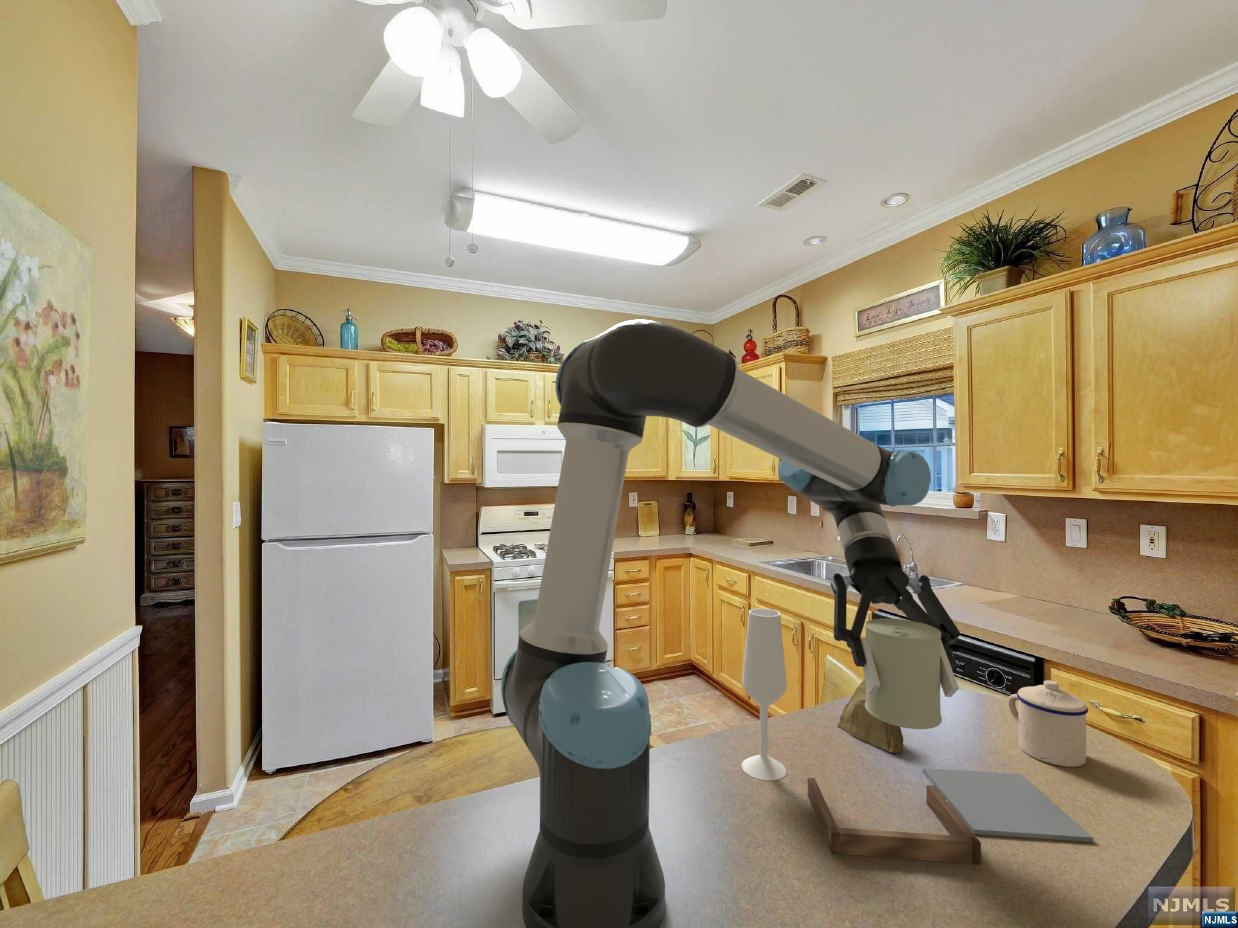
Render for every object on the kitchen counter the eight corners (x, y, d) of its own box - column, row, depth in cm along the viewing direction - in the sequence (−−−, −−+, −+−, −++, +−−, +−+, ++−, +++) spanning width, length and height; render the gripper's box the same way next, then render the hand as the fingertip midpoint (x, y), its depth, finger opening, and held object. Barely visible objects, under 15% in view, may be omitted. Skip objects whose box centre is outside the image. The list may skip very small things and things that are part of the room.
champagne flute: (774, 786, 79) (775, 621, 79) (733, 768, 83) (734, 612, 83) (793, 766, 84) (794, 611, 84) (753, 751, 88) (754, 604, 89)
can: (858, 716, 72) (858, 626, 72) (871, 692, 80) (871, 611, 80) (938, 736, 67) (938, 639, 67) (944, 708, 75) (944, 621, 75)
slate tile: (973, 833, 69) (973, 829, 69) (923, 771, 83) (923, 767, 83) (1093, 842, 68) (1093, 837, 68) (1021, 777, 81) (1021, 773, 81)
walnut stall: (831, 852, 65) (831, 832, 65) (807, 795, 77) (807, 777, 77) (980, 864, 64) (981, 842, 64) (934, 803, 75) (934, 785, 75)
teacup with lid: (1103, 765, 85) (1103, 690, 85) (1056, 772, 83) (1056, 695, 83) (1030, 728, 97) (1030, 663, 97) (987, 734, 95) (988, 667, 95)
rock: (925, 743, 87) (900, 707, 97) (893, 702, 87) (871, 670, 96) (866, 777, 89) (848, 738, 99) (835, 736, 88) (820, 702, 98)
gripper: (932, 563, 88) (989, 705, 72) (794, 560, 90) (821, 699, 74) (948, 534, 82) (1015, 682, 67) (802, 533, 84) (832, 675, 69)
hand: (913, 690), depth 70 cm, fingers closed on can, 9 cm apart
